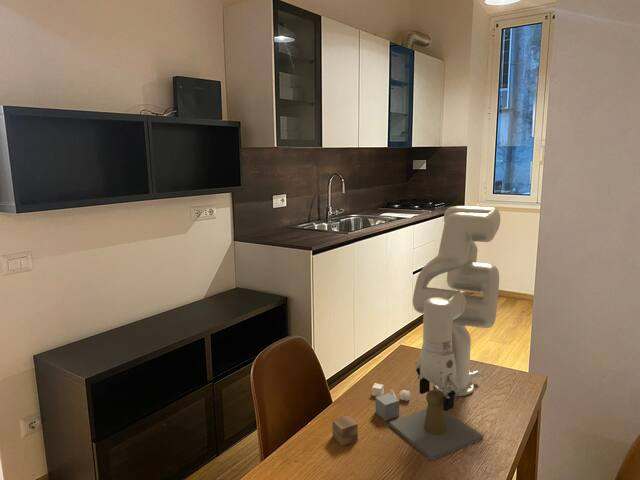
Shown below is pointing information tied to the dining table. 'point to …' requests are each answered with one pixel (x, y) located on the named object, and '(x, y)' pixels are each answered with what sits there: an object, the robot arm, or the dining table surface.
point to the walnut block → (345, 430)
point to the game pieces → (379, 390)
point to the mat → (435, 444)
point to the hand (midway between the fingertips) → (436, 400)
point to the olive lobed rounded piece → (435, 413)
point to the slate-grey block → (387, 406)
